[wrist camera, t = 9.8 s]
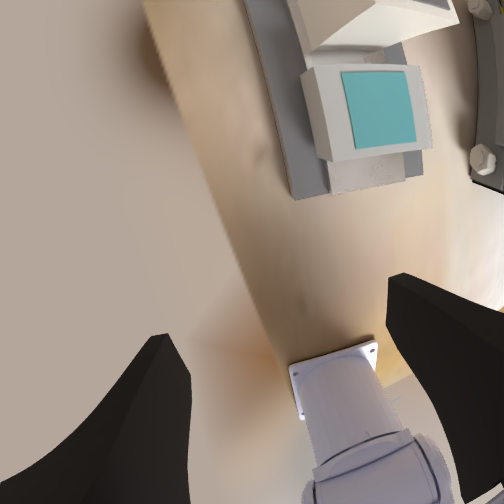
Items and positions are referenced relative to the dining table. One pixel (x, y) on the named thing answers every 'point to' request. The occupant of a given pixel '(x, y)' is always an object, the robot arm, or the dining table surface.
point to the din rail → (356, 170)
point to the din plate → (299, 98)
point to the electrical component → (489, 94)
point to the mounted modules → (366, 110)
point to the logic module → (372, 22)
